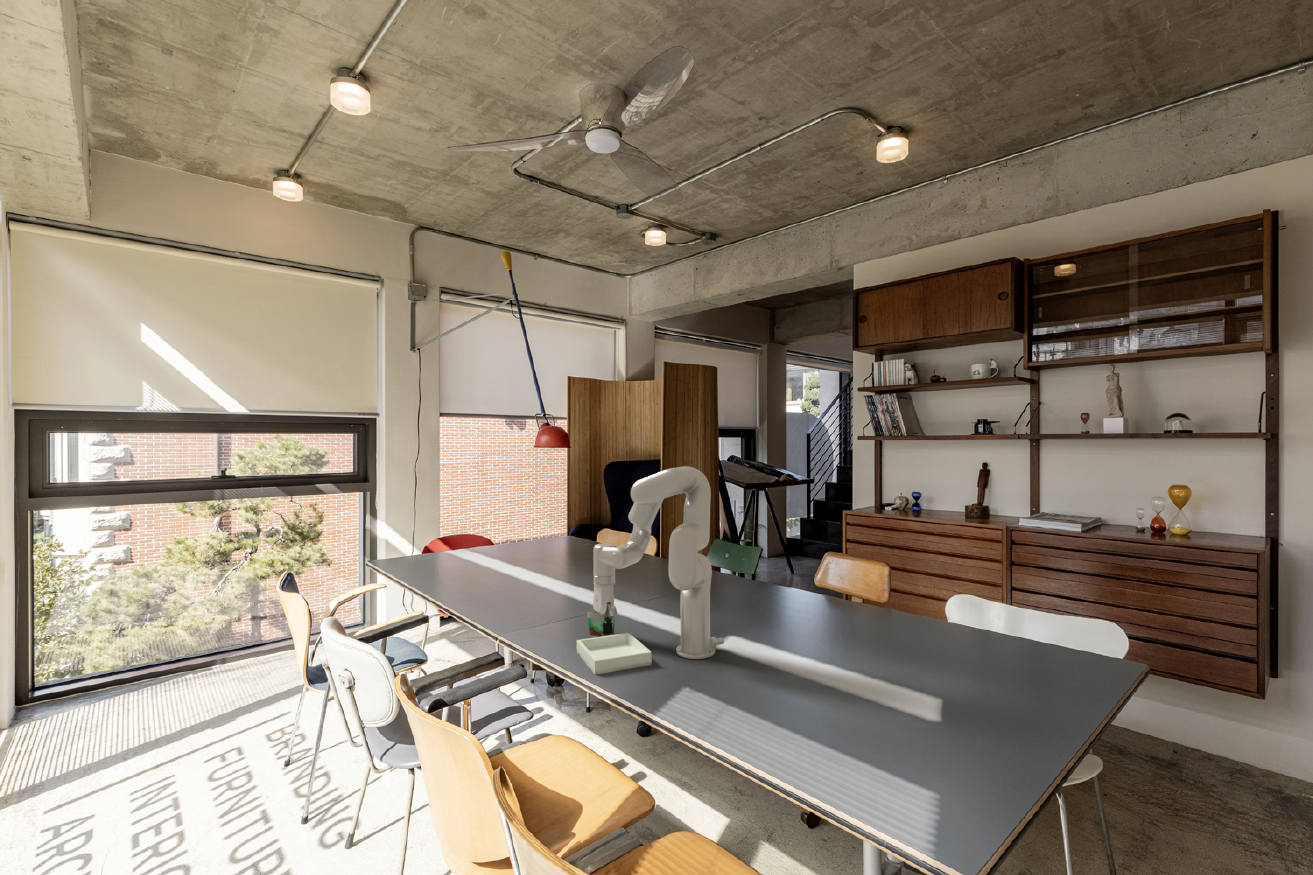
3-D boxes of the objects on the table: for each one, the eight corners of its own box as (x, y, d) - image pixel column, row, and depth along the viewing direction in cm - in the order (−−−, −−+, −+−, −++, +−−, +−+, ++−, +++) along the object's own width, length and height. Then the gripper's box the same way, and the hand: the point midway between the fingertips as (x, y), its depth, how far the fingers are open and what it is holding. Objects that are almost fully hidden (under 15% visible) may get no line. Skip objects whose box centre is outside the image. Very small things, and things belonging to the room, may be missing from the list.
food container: (599, 644, 203) (599, 614, 203) (586, 640, 207) (586, 611, 207) (624, 635, 212) (624, 606, 212) (612, 631, 216) (612, 603, 216)
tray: (628, 644, 203) (628, 632, 203) (651, 664, 184) (651, 651, 184) (576, 652, 196) (576, 640, 196) (594, 674, 177) (594, 660, 177)
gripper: (586, 575, 217) (587, 625, 217) (601, 586, 201) (601, 640, 201) (606, 573, 220) (606, 622, 220) (622, 584, 204) (622, 637, 204)
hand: (604, 630), depth 210 cm, fingers closed on food container, 6 cm apart
